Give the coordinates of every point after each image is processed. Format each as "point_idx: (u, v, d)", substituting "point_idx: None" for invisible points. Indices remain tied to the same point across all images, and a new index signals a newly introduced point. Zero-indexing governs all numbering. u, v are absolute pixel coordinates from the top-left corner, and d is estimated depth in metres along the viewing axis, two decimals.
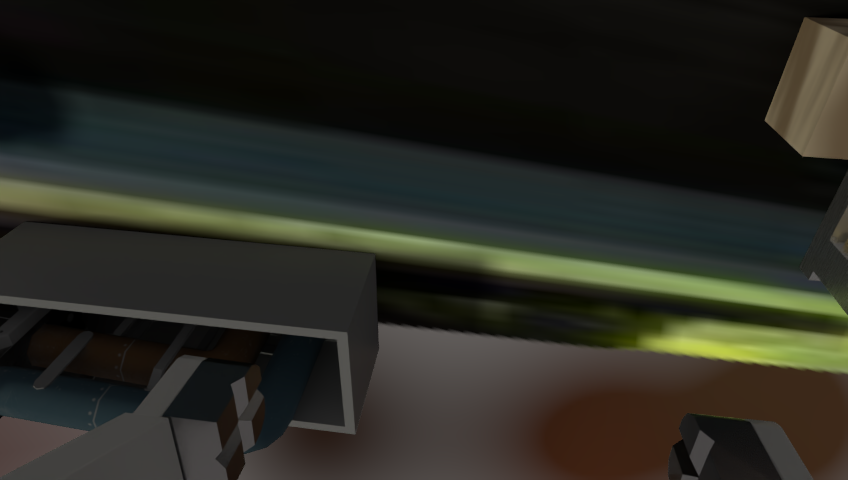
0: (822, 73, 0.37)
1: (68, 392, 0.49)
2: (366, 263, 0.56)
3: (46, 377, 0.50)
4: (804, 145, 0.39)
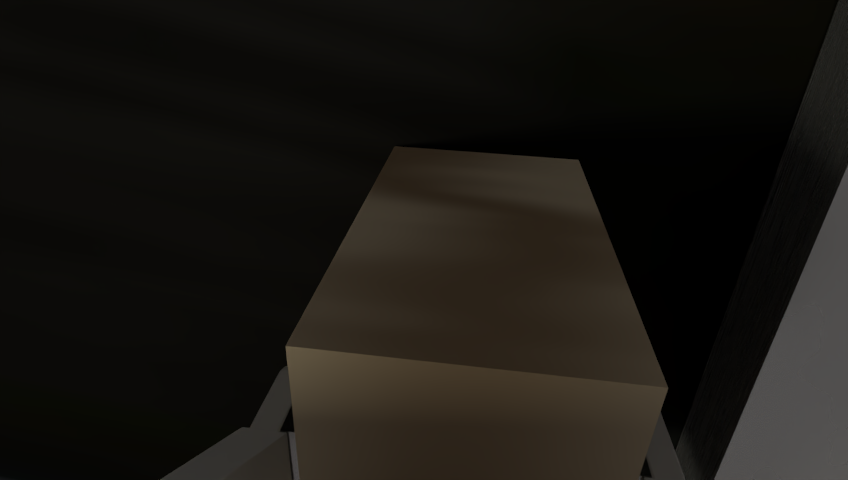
0: None
1: None
2: None
3: None
4: None
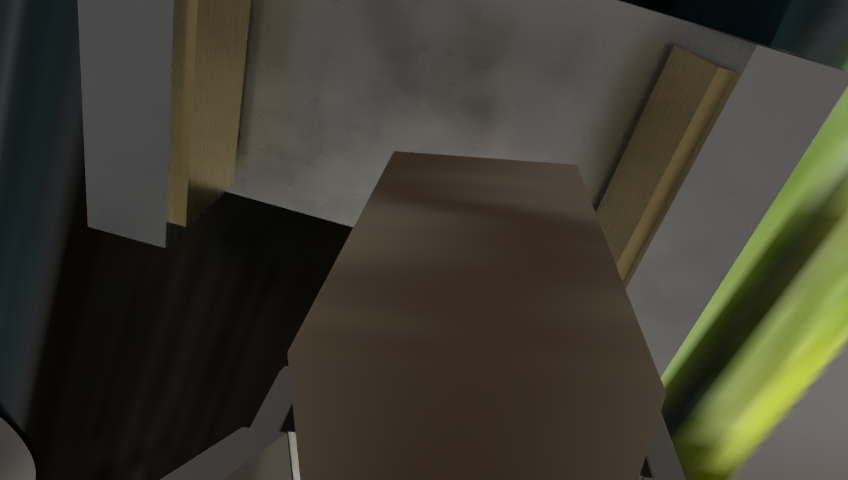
0: None
1: None
2: None
3: None
4: None
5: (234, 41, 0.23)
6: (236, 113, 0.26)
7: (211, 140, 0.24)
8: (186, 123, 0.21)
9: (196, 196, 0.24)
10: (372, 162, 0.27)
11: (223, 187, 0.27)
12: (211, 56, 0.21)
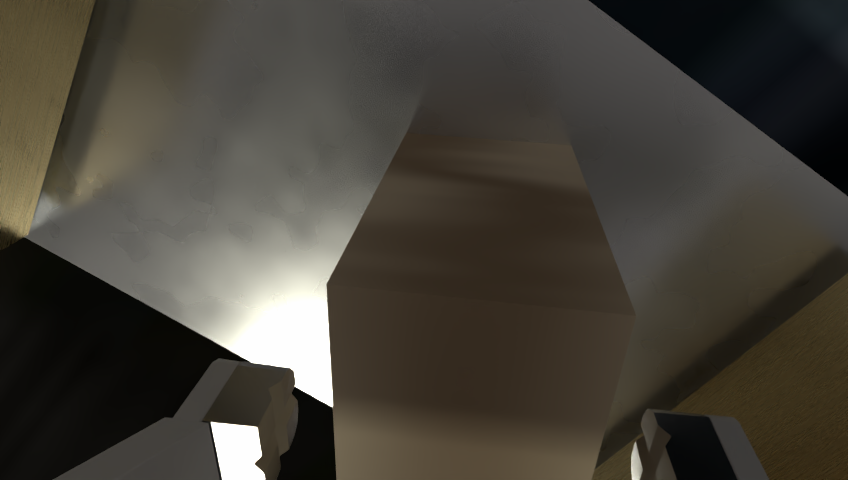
0: None
1: None
2: None
3: None
4: None
5: None
6: (47, 125, 0.13)
7: None
8: None
9: None
10: (287, 270, 0.16)
11: None
12: None
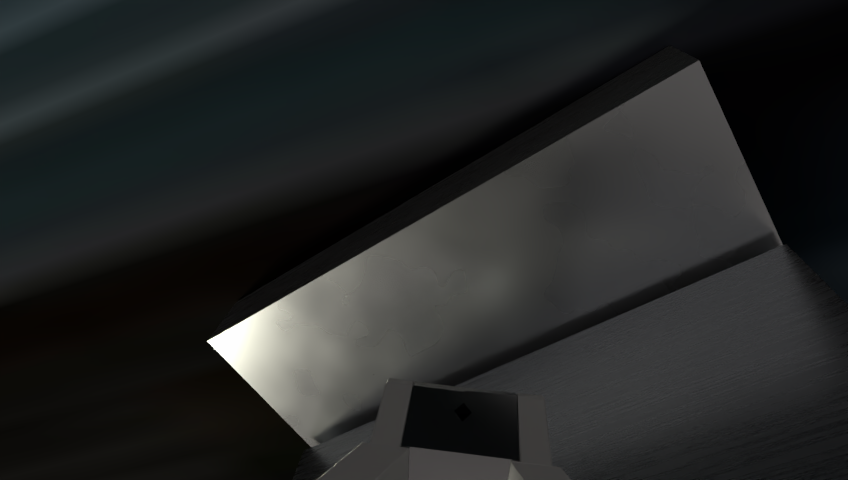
0: None
1: None
2: None
3: None
4: None
5: None
6: None
7: None
8: None
9: None
10: None
11: None
12: None
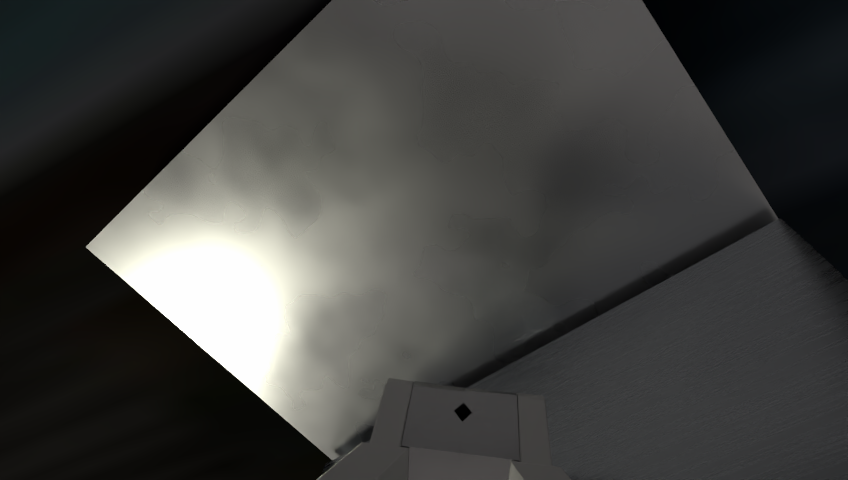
0: None
1: None
2: None
3: None
4: None
5: None
6: None
7: None
8: None
9: None
10: None
11: None
12: None
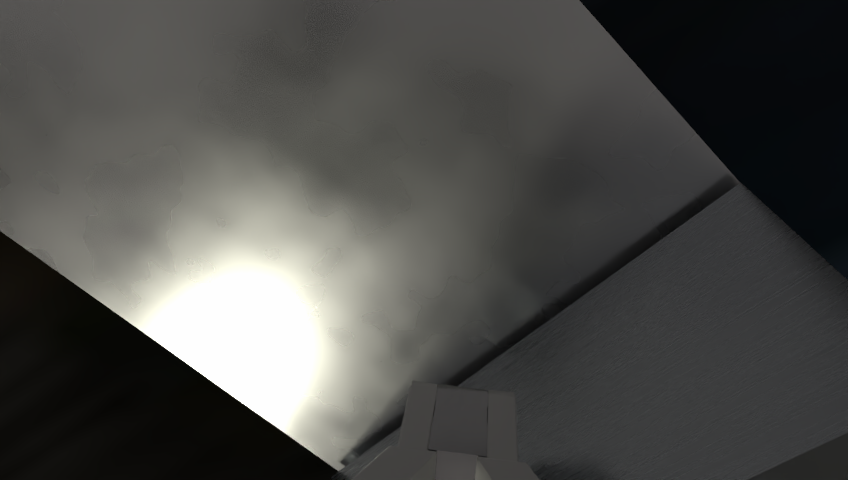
0: None
1: None
2: None
3: None
4: None
5: None
6: None
7: None
8: None
9: None
10: (377, 378, 0.15)
11: None
12: None
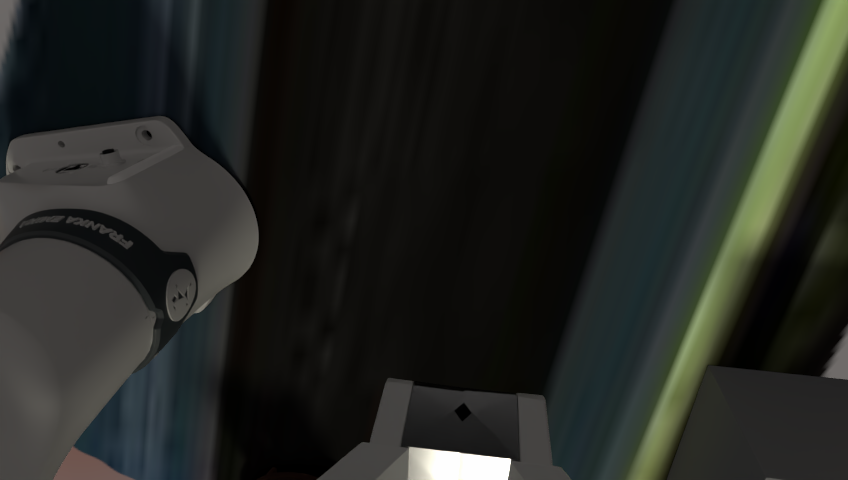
0: None
1: None
2: (713, 383, 0.47)
3: None
4: None
5: None
6: None
7: None
8: None
9: None
10: None
11: None
12: None
